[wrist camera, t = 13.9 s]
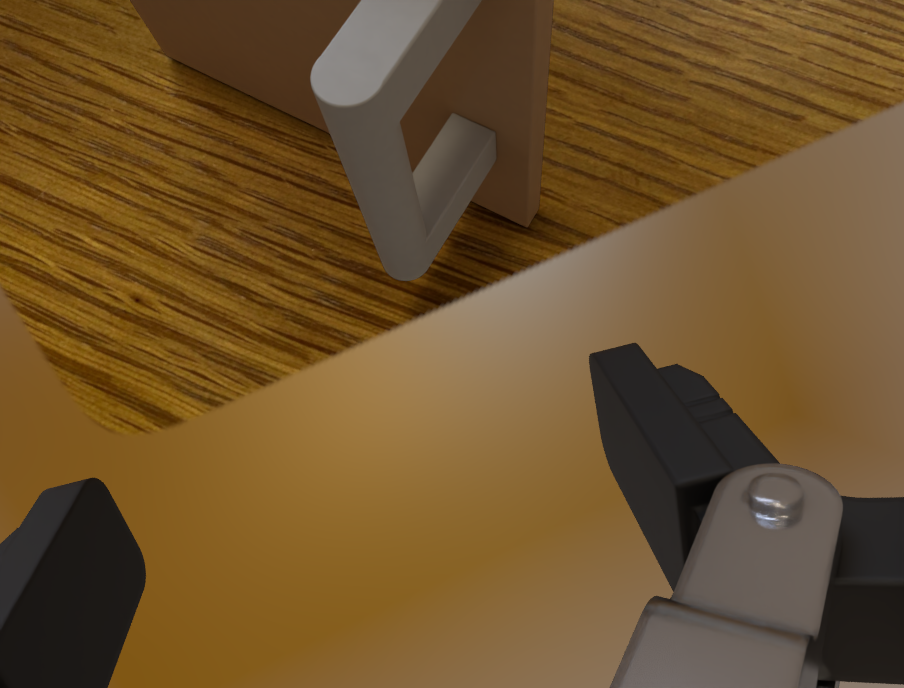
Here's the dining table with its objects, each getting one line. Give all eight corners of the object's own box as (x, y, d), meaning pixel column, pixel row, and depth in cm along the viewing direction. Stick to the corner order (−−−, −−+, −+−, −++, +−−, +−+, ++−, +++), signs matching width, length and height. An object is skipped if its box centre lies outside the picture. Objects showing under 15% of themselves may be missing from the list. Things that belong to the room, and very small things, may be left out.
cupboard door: (456, 345, 27) (391, 61, 12) (89, 150, 31) (-289, -240, 16) (539, 207, 28) (568, -192, 14) (178, 38, 32) (-95, -412, 18)
